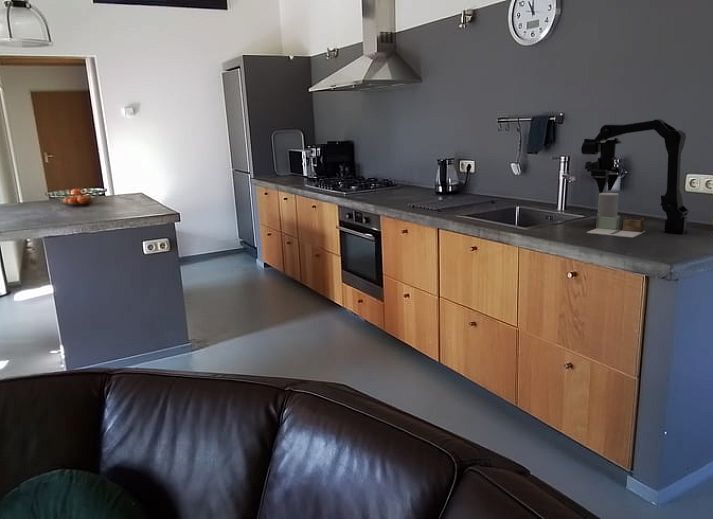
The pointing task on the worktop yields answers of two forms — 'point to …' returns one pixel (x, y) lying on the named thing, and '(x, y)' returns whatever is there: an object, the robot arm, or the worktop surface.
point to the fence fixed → (631, 225)
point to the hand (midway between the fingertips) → (605, 191)
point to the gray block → (608, 205)
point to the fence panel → (608, 222)
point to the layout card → (615, 232)
